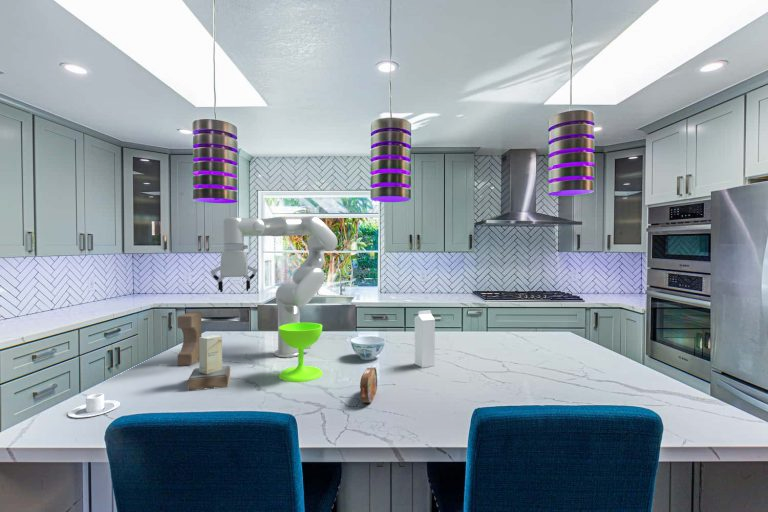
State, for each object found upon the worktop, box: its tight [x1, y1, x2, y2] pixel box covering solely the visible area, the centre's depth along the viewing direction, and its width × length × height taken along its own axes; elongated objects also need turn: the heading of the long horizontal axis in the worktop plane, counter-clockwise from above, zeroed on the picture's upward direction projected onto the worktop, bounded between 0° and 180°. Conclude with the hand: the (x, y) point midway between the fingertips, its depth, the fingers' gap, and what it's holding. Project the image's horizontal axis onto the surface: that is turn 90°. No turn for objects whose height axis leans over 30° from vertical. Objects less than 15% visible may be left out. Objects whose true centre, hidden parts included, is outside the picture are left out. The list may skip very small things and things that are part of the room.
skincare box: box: [198, 334, 223, 374], centre depth 132 cm, size 6×4×12 cm
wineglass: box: [278, 322, 324, 383], centre depth 141 cm, size 16×16×18 cm
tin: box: [359, 367, 378, 404], centre depth 119 cm, size 15×3×8 cm, turn 171°
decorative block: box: [176, 311, 202, 367], centre depth 157 cm, size 11×6×20 cm, turn 5°
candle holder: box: [67, 392, 121, 419], centre depth 110 cm, size 12×12×4 cm
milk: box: [414, 309, 436, 368], centre depth 153 cm, size 6×6×22 cm
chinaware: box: [350, 335, 386, 361], centre depth 163 cm, size 15×15×8 cm
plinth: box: [187, 365, 231, 391], centre depth 132 cm, size 12×12×4 cm
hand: (234, 291), depth 151 cm, fingers open, 9 cm apart
